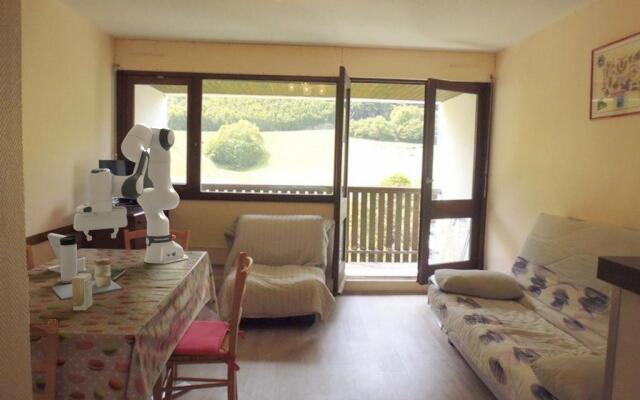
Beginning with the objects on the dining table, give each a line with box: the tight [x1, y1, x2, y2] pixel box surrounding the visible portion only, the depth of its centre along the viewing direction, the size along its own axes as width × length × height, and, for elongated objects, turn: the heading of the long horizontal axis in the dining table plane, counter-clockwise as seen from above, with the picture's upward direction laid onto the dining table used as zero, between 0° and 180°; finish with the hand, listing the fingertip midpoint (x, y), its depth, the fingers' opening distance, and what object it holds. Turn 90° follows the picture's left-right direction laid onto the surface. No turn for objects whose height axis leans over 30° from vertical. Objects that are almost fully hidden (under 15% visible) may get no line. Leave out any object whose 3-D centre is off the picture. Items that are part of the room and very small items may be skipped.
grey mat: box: [51, 279, 123, 301], centre depth 175 cm, size 22×18×1 cm
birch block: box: [93, 257, 112, 287], centre depth 178 cm, size 5×5×11 cm
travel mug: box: [60, 235, 78, 284], centre depth 183 cm, size 6×7×20 cm
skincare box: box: [71, 272, 93, 311], centre depth 153 cm, size 6×4×12 cm
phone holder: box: [47, 232, 87, 274], centre depth 201 cm, size 17×10×18 cm, turn 60°
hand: (101, 239), depth 177 cm, fingers open, 8 cm apart
